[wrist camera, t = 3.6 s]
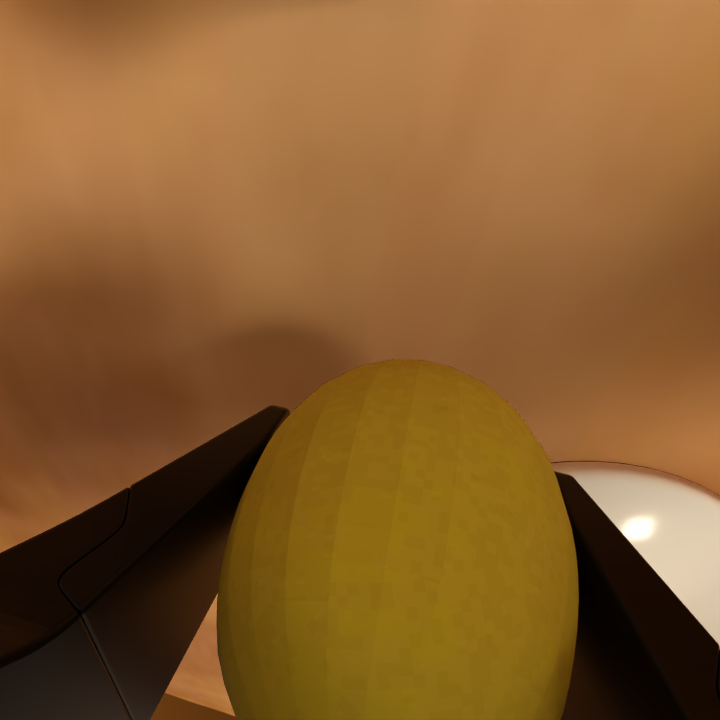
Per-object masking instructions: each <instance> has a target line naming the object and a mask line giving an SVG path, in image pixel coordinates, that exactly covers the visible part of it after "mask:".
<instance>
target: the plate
mask: <svg viewBox="0 0 720 720" xmlns="http://www.w3.org/2000/svg"><path fill="white" fill-rule="evenodd" d="M551 465H552V468H553V470H554V471H556V472H560V473H564V474H569V475H571V476H572V477H574V478H575V479H576V481H577V482H578V483H579V484H580V485H581V486H582V487H583V489H584V490H585V491H586V492H587V493H588V494H589V496H590V497H591V498H592V499H593V500H594V501H595V502H596V504H597V505H598V506H599V507H600V508H601V509H602V510H603V512H604V513H605V514H606V515H607V516H608V517H609V519H610V520H611V521H612V522H613V523H614V524H615V525H616V527H617V528H618V529H619V530H620V531H621V532H622V534H623V535H624V536H625V537H626V538H627V539H628V540H629V542H630V543H631V544H632V545H633V546H634V547H635V548H636V550H637V551H638V552H639V553H640V554H641V555H642V557H643V558H644V559H645V560H646V561H647V562H648V563H649V565H650V566H651V567H652V568H653V569H654V570H655V571H656V573H657V574H658V575H659V576H660V577H661V578H662V580H663V581H664V582H665V583H666V584H667V585H668V586H669V588H670V589H671V590H672V591H673V592H674V593H675V595H676V596H677V597H678V598H679V599H680V600H681V601H682V603H683V604H684V605H685V606H686V607H687V608H688V609H689V611H690V612H691V613H692V614H693V615H694V616H695V618H696V619H697V620H698V621H699V622H700V623H701V624H702V626H703V627H704V628H705V629H706V630H707V631H708V632H709V634H710V635H711V636H712V637H713V638H714V639H715V641H716V642H717V643H718V644H719V646H720V495H718V494H716V493H714V492H712V491H710V490H709V489H707V488H705V487H703V486H701V485H699V484H697V483H694V482H691V481H689V480H686V479H684V478H681V477H679V476H676V475H672V474H669V473H665V472H662V471H658V470H654V469H651V468H645V467H639V466H634V465H628V464H620V463H609V462H562V463H551Z"/></svg>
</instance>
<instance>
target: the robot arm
mask: <svg viewBox="0 0 720 720" xmlns="http://www.w3.org/2000/svg"><path fill="white" fill-rule="evenodd" d="M289 415H290V412H289V410H288V409H287V408H283V407H279V406H273V405H272V406H269V407H267V408H265V409H264V410H262V411H260V412H258V413H257V414H255V415H253V416H251V417H250V418H248V419H246V420H245V421H243V422H241V423H239V424H238V425H236V426H234V427H232V428H231V429H229V430H227V431H225V432H224V433H222V434H220V435H218V436H217V437H215V438H213V439H211V440H210V441H208V442H206V443H204V444H203V445H201V446H199V447H197V448H196V449H194V450H192V451H190V452H189V453H187V454H185V455H183V456H182V457H180V458H178V459H176V460H175V461H173V462H171V463H169V464H168V465H166V466H164V467H163V468H161V469H159V470H157V471H156V472H154V473H152V474H150V475H149V476H147V477H145V478H143V479H142V480H140V481H138V482H136V483H135V484H133V485H131V487H130V488H126V489H124V490H122V491H120V492H119V493H117V494H115V495H113V496H112V497H110V498H108V499H106V500H105V501H103V502H101V503H99V504H97V505H95V506H94V507H92V508H90V509H88V510H86V511H84V512H83V513H81V514H79V515H77V516H75V517H73V518H71V519H69V520H67V521H65V522H63V523H61V524H59V525H57V526H55V527H53V528H51V529H49V530H47V531H45V532H43V533H41V534H39V535H37V536H35V537H33V538H30V539H28V540H26V541H24V542H22V543H20V544H18V545H16V546H14V547H12V548H10V549H8V550H5V551H3V552H1V553H0V720H150V719H151V717H152V715H153V713H154V711H155V709H156V708H157V706H158V704H159V702H160V700H161V698H162V696H163V695H164V693H165V691H166V689H167V687H168V685H169V683H170V681H171V680H172V678H173V676H174V674H175V672H176V670H177V668H178V666H179V665H180V663H181V661H182V659H183V657H184V655H185V653H186V651H187V649H188V648H189V646H190V644H191V642H192V640H193V638H194V636H195V634H196V633H197V631H198V629H199V627H200V625H201V623H202V621H203V619H204V618H205V616H206V614H207V612H208V610H209V608H210V606H211V604H212V603H213V601H214V599H215V597H216V595H217V593H218V589H219V578H220V572H221V567H222V562H223V557H224V552H225V547H226V543H227V540H228V536H229V532H230V529H231V525H232V522H233V519H234V516H235V513H236V510H237V507H238V504H239V502H240V499H241V497H242V495H243V492H244V490H245V487H246V485H247V483H248V481H249V479H250V477H251V475H252V473H253V471H254V469H255V467H256V465H257V463H258V461H259V459H260V457H261V455H262V454H263V452H264V450H265V448H266V446H267V444H268V443H269V441H270V440H271V438H272V436H273V435H274V433H275V432H276V430H277V429H278V428H279V427H280V425H281V424H282V423H283V422H284V420H285V419H286V418H287V417H288V416H289ZM554 473H555V475H556V478H557V481H558V484H559V487H560V491H561V494H562V497H563V500H564V504H565V507H566V510H567V514H568V517H569V521H570V524H571V528H572V533H573V538H574V544H575V549H576V558H577V568H578V592H579V604H578V628H577V637H576V645H575V654H574V662H573V668H572V674H571V680H570V685H569V689H568V694H567V698H566V702H565V707H564V711H563V714H562V717H561V719H560V720H720V646H719V644H718V643H717V642H716V641H715V639H714V638H713V637H712V636H711V635H710V634H709V632H708V631H707V630H706V629H705V628H704V627H703V626H702V624H701V623H700V622H699V621H698V620H697V619H696V618H695V616H694V615H693V614H692V613H691V612H690V611H689V609H688V608H687V607H686V606H685V605H684V604H683V603H682V601H681V600H680V599H679V598H678V597H677V596H676V595H675V593H674V592H673V591H672V590H671V589H670V588H669V586H668V585H667V584H666V583H665V582H664V581H663V580H662V578H661V577H660V576H659V575H658V574H657V573H656V571H655V570H654V569H653V568H652V567H651V566H650V565H649V563H648V562H647V561H646V560H645V559H644V558H643V557H642V555H641V554H640V553H639V552H638V551H637V550H636V548H635V547H634V546H633V545H632V544H631V543H630V542H629V540H628V539H627V538H626V537H625V536H624V535H623V534H622V532H621V531H620V530H619V529H618V528H617V527H616V525H615V524H614V523H613V522H612V521H611V520H610V519H609V517H608V516H607V515H606V514H605V513H604V512H603V510H602V509H601V508H600V507H599V506H598V505H597V504H596V502H595V501H594V500H593V499H592V498H591V497H590V496H589V494H588V493H587V492H586V491H585V490H584V489H583V487H582V486H581V485H580V484H579V483H578V482H577V481H576V479H575V478H574V477H572V476H571V475H569V474H564V473H560V472H556V471H554Z"/></svg>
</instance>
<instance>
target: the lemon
mask: <svg viewBox="0 0 720 720" xmlns="http://www.w3.org/2000/svg"><path fill="white" fill-rule="evenodd" d="M578 604H579V592H578V568H577V558H576V549H575V544H574V538H573V533H572V528H571V524H570V521H569V517H568V514H567V510H566V507H565V504H564V500H563V497H562V494H561V491H560V487H559V484H558V481H557V478H556V475H555V473H554V470H553V468H552V465H551V463H550V461H549V459H548V457H547V455H546V453H545V451H544V449H543V448H542V446H541V445H540V443H539V442H538V441H537V439H536V438H535V436H534V435H533V433H532V432H531V431H530V429H529V428H528V426H527V425H526V424H525V422H524V421H523V419H522V418H521V417H520V415H519V414H518V412H517V411H516V410H515V409H514V408H513V407H512V406H511V405H510V404H509V403H508V402H507V401H505V400H504V399H503V398H502V397H500V396H499V395H498V394H497V393H496V392H494V391H493V390H492V389H491V388H489V387H488V386H487V385H486V384H485V383H483V382H481V381H479V380H477V379H475V378H473V377H471V376H469V375H466V374H464V373H462V372H460V371H458V370H456V369H454V368H452V367H449V366H444V365H440V364H436V363H432V362H427V361H423V360H387V361H382V362H378V363H373V364H368V365H364V366H359V367H357V368H355V369H353V370H351V371H349V372H347V373H345V374H343V375H341V376H339V377H337V378H335V379H333V380H331V381H329V382H327V383H325V384H323V385H322V386H321V387H320V388H318V389H317V390H316V391H315V392H313V393H312V394H311V395H310V396H309V397H308V398H307V399H306V400H305V401H304V402H303V403H302V404H300V405H299V406H298V407H297V408H296V409H295V410H294V411H293V412H292V413H291V414H290V415H289V416H288V417H287V418H286V419H285V420H284V422H283V423H282V424H281V425H280V427H279V428H278V429H277V430H276V432H275V433H274V435H273V436H272V438H271V440H270V441H269V443H268V444H267V446H266V448H265V450H264V452H263V454H262V455H261V457H260V459H259V461H258V463H257V465H256V467H255V469H254V471H253V473H252V475H251V477H250V479H249V481H248V483H247V485H246V487H245V490H244V492H243V495H242V497H241V499H240V502H239V504H238V507H237V510H236V513H235V516H234V519H233V522H232V525H231V529H230V532H229V536H228V540H227V543H226V547H225V552H224V557H223V562H222V567H221V572H220V578H219V589H218V599H217V644H218V656H219V661H220V666H221V671H222V675H223V680H224V684H225V687H226V690H227V693H228V696H229V699H230V702H231V705H232V707H233V710H234V713H235V716H236V718H237V720H560V719H561V717H562V714H563V711H564V707H565V702H566V698H567V694H568V689H569V685H570V680H571V674H572V668H573V662H574V654H575V645H576V637H577V628H578Z"/></svg>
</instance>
